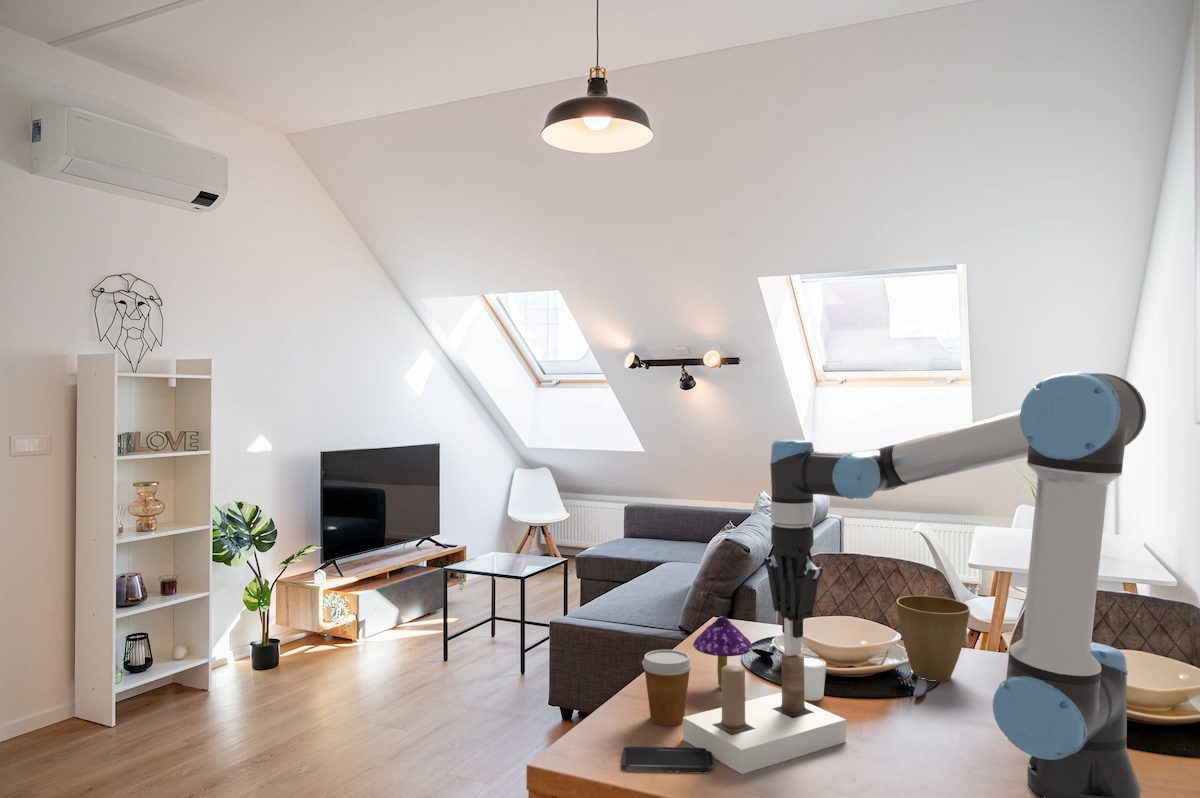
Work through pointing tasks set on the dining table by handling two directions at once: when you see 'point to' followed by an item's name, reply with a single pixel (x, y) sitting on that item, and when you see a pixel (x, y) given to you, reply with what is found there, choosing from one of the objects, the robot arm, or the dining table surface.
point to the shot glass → (814, 678)
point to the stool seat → (759, 728)
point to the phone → (667, 759)
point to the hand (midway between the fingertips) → (792, 653)
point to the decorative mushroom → (722, 642)
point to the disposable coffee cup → (667, 685)
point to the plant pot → (932, 634)
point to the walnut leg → (793, 685)
